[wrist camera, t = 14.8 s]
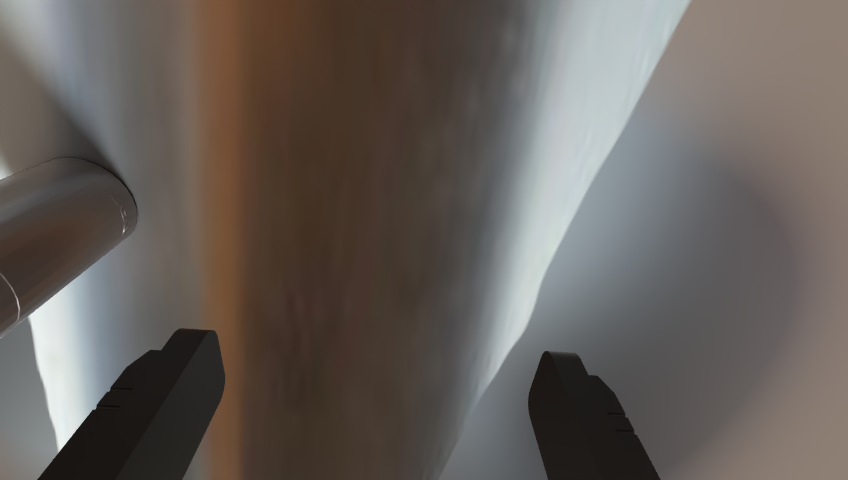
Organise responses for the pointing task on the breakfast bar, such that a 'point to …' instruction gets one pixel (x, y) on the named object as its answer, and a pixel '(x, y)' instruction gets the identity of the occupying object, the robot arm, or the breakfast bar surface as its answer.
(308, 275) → the breakfast bar surface
